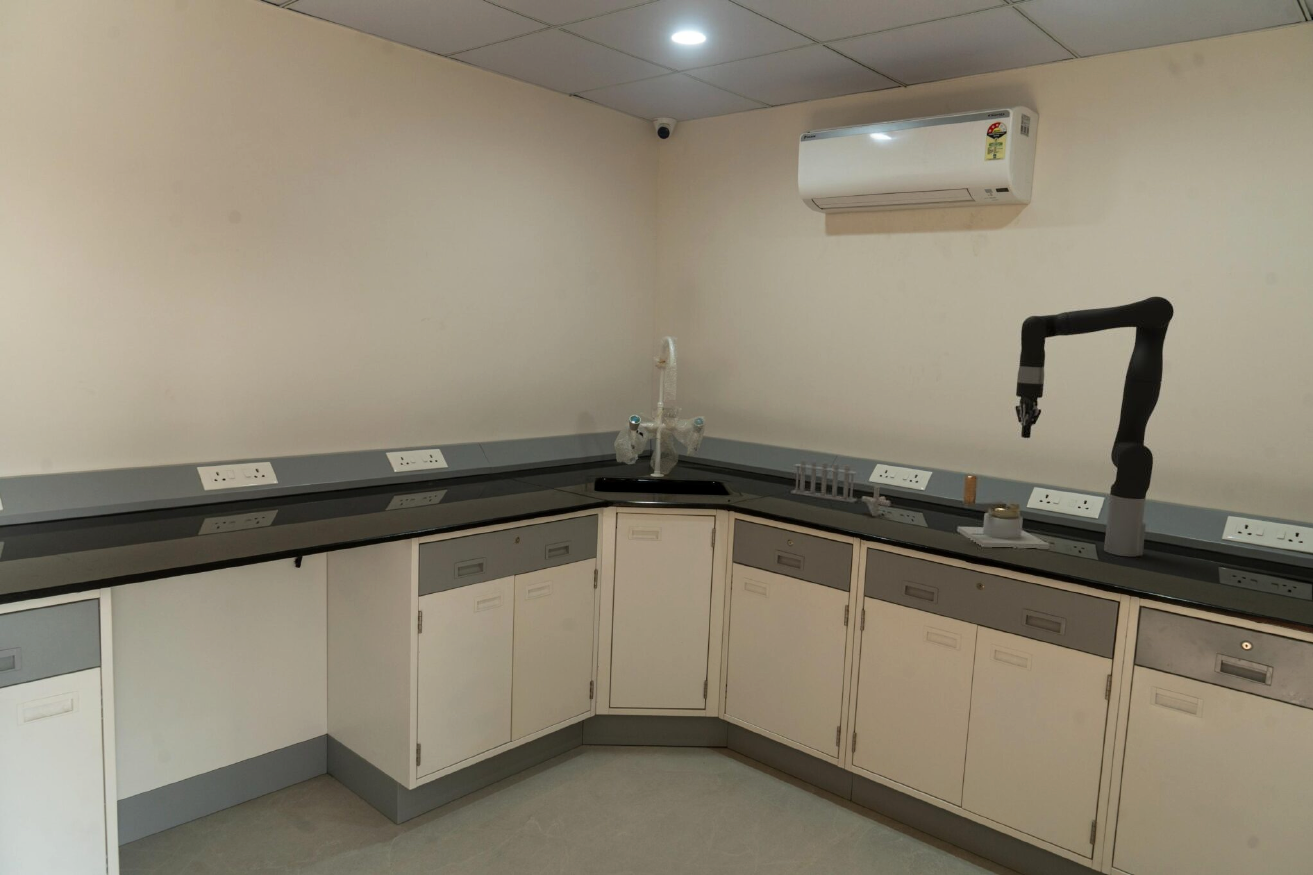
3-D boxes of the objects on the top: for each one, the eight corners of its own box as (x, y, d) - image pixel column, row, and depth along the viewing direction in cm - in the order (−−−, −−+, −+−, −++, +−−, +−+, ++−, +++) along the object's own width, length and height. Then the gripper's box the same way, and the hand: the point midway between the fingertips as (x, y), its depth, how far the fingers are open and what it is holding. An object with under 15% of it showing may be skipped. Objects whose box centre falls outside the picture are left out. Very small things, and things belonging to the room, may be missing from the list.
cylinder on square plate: (1018, 532, 274) (1020, 510, 273) (1048, 549, 254) (1051, 524, 253) (957, 531, 274) (959, 508, 273) (982, 547, 254) (984, 522, 253)
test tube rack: (856, 501, 317) (859, 466, 315) (852, 502, 313) (854, 467, 311) (795, 491, 331) (797, 458, 329) (790, 493, 327) (792, 459, 326)
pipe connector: (895, 515, 293) (897, 487, 292) (881, 519, 286) (883, 490, 284) (869, 510, 300) (871, 482, 298) (854, 514, 292) (856, 486, 291)
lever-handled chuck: (1008, 511, 268) (1011, 473, 267) (1025, 518, 259) (1029, 479, 258) (955, 512, 265) (958, 473, 263) (970, 518, 256) (974, 478, 254)
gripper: (1052, 383, 254) (1047, 440, 257) (1032, 380, 268) (1027, 435, 270) (1028, 382, 254) (1023, 440, 257) (1009, 380, 267) (1004, 434, 270)
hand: (1025, 437), depth 263 cm, fingers closed
